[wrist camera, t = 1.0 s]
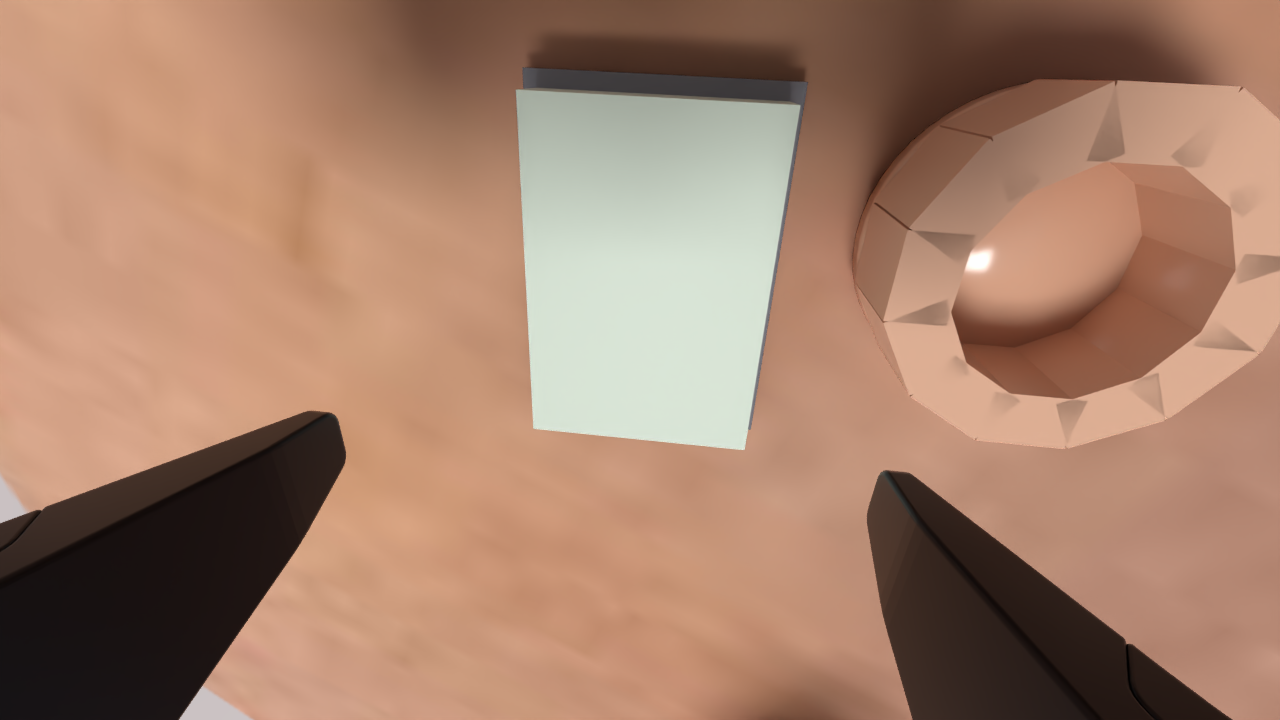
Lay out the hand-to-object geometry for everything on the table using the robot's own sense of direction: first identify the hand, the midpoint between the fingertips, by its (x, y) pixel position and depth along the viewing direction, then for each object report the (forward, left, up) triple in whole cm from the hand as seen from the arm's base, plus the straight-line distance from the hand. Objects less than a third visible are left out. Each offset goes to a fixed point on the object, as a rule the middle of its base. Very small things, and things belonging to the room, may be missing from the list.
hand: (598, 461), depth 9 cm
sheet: (0, 0, -10) cm, 10 cm away
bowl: (-11, -1, -11) cm, 16 cm away
